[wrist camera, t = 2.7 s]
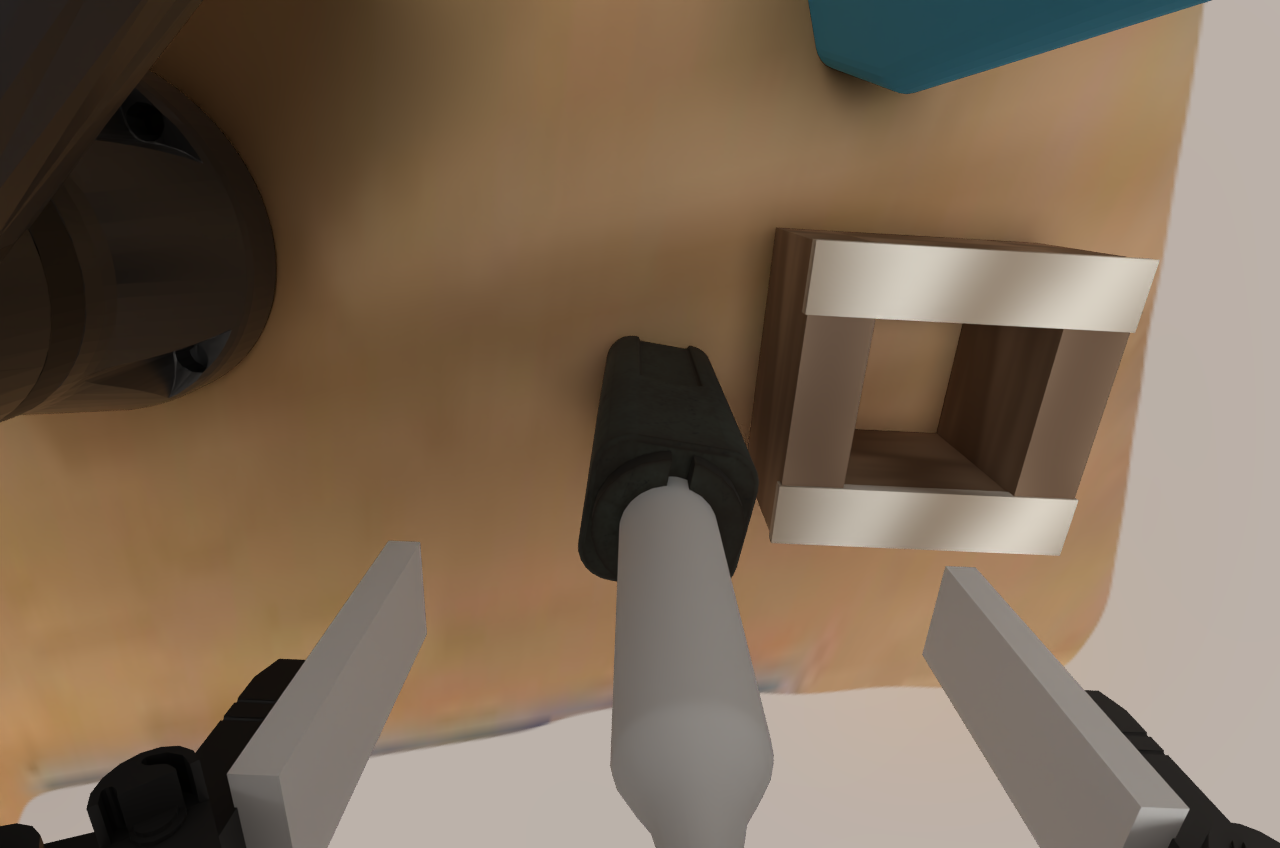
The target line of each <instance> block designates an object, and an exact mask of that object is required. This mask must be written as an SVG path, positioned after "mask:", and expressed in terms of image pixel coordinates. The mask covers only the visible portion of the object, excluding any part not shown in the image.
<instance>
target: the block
mask: <svg viewBox="0 0 1280 848" xmlns="http://www.w3.org/2000/svg"><path fill="white" fill-rule="evenodd" d="M1208 1H1211V0H808V2H809V8H810V14H811V20H812V26H813V32H814V38H815V44H816V49H817V53H818V55H819V57H820V59H821V61H822V62H823V63H825V64H826V65H827V66H829V67H831V68H833V69H836V70H839V71H841V72H844V73H847V74H849V75H852V76H855V77H857V78H860V79H863V80H866V81H868V82H871V83H874V84H876V85H879V86H882V87H884V88H887V89H890V90H892V91H895V92H898V93H903V94H910V93H915V92H918V91H922V90H925V89H928V88H931V87H935V86H938V85H941V84H944V83H947V82H951V81H954V80H957V79H960V78H964V77H967V76H970V75H973V74H976V73H980V72H983V71H986V70H989V69H993V68H996V67H999V66H1002V65H1006V64H1009V63H1012V62H1015V61H1018V60H1022V59H1025V58H1028V57H1031V56H1034V55H1038V54H1041V53H1044V52H1047V51H1050V50H1054V49H1057V48H1060V47H1063V46H1066V45H1070V44H1073V43H1076V42H1079V41H1083V40H1086V39H1089V38H1092V37H1095V36H1099V35H1102V34H1105V33H1108V32H1111V31H1115V30H1118V29H1121V28H1124V27H1127V26H1131V25H1134V24H1137V23H1140V22H1144V21H1147V20H1150V19H1153V18H1156V17H1160V16H1163V15H1166V14H1169V13H1172V12H1176V11H1179V10H1182V9H1185V8H1188V7H1192V6H1195V5H1198V4H1201V3H1205V2H1208Z"/></svg>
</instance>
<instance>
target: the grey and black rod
mask: <svg viewBox="0 0 1280 848" xmlns="http://www.w3.org/2000/svg"><path fill="white" fill-rule="evenodd" d="M758 486H759V479H758V473H757V470H756V468H755V466H754V463H753V461H752V459H751V456H750V454H749V452H748V449H747V447H746V445H745V442H744V440H743V438H742V435H741V433H740V431H739V428H738V426H737V424H736V421H735V419H734V417H733V414H732V412H731V410H730V407H729V405H728V403H727V400H726V398H725V396H724V393H723V391H722V389H721V386H720V384H719V382H718V379H717V377H716V375H715V372H714V370H713V368H712V365H711V363H710V361H709V359H708V357H707V355H706V354H705V353H704V352H703V351H701V350H700V349H698V348H696V347H692V346H689V347H688V348H687V349H682V348H677V347H671V346H666V345H660V344H655V343H649V342H643V341H640V340H639V337H637V336H627V337H623V338H621V339H619V340H617V341H616V342H615V343H614V344H613V345H612V347H611V348H610V350H609V352H608V356H607V361H606V367H605V373H604V379H603V384H602V390H601V396H600V402H599V408H598V414H597V421H596V428H595V434H594V441H593V448H592V454H591V461H590V468H589V474H588V481H587V488H586V495H585V501H584V508H583V515H582V521H581V528H580V535H579V541H578V551H579V555H580V558H581V561H582V562H583V564H584V565H585V567H586V568H587V569H588V570H589V571H590V572H592V573H593V574H595V575H596V576H598V577H600V578H603V579H607V580H612V581H617V603H616V630H615V656H614V683H613V709H612V738H611V763H610V766H611V771H612V775H613V778H614V782H615V785H616V788H617V790H618V792H619V793H620V795H621V796H622V797H623V799H624V800H625V801H626V803H627V804H628V806H629V807H630V808H631V810H632V811H633V813H634V814H635V815H636V817H637V818H638V819H639V820H640V822H641V823H642V824H643V825H644V826H645V827H646V829H647V830H648V831H649V832H650V833H651V835H652V838H653V841H654V844H655V847H656V848H744V843H745V836H746V828H747V824H748V822H749V821H750V819H751V817H752V815H753V814H754V812H755V810H756V808H757V807H758V805H759V803H760V801H761V799H762V797H763V795H764V793H765V790H766V789H767V786H768V784H769V782H770V780H771V775H772V768H773V756H774V755H773V749H772V744H771V738H770V734H769V730H768V726H767V722H766V718H765V714H764V711H763V706H762V702H761V698H760V694H759V690H758V686H757V682H756V678H755V674H754V670H753V666H752V662H751V658H750V654H749V649H748V645H747V641H746V637H745V633H744V629H743V625H742V621H741V617H740V613H739V609H738V605H737V601H736V597H735V593H734V589H733V585H732V581H731V577H732V576H733V574H734V572H735V570H736V568H737V564H738V561H739V557H740V554H741V550H742V546H743V543H744V539H745V536H746V532H747V529H748V525H749V521H750V518H751V514H752V511H753V507H754V504H755V500H756V496H757V493H758Z"/></svg>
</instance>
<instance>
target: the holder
mask: <svg viewBox="0 0 1280 848" xmlns="http://www.w3.org/2000/svg"><path fill="white" fill-rule="evenodd" d="M1158 263H1159V260H1155V259H1149V258H1132V257H1124V256H1118V255H1111V254H1105V253H1098V252H1092V251H1085V250H1079V249H1072V248H1066V247H1059V246H1053V245H1046V244H1040V243H1028V242H1011V241H994V240H977V239H960V238H943V237H926V236H909V235H892V234H875V233H858V232H841V231H824V230H807V229H790V228H776V233H775V241H774V248H773V256H772V264H771V272H770V280H769V288H768V296H767V303H766V311H765V319H764V327H763V335H762V343H761V351H760V358H759V366H758V374H757V382H756V390H755V398H754V406H753V413H752V421H751V429H750V437H749V445H748V452H749V454H750V456H751V459H752V461H753V463H754V466H755V468H756V470H757V473H758V479H759V486H758V493H757V496H756V498H757V500H758V503H759V505H760V508H761V511H762V513H763V516H764V518H765V521H766V523H767V526H768V528H769V531H770V532H769V538H770V541H771V543H784V544H806V545H829V546H852V547H875V548H898V549H921V550H944V551H967V552H990V553H1013V554H1036V555H1058V556H1060V553H1061V550H1062V547H1063V544H1064V541H1065V539H1066V536H1067V533H1068V530H1069V527H1070V524H1071V521H1072V518H1073V515H1074V512H1075V509H1076V506H1077V503H1078V500H1077V499H1076V498H1075V496H1076V493H1077V490H1078V487H1079V484H1080V481H1081V478H1082V475H1083V472H1084V469H1085V466H1086V463H1087V460H1088V457H1089V454H1090V451H1091V448H1092V445H1093V442H1094V439H1095V436H1096V433H1097V430H1098V427H1099V424H1100V421H1101V418H1102V415H1103V412H1104V409H1105V406H1106V403H1107V400H1108V397H1109V394H1110V391H1111V388H1112V385H1113V382H1114V379H1115V376H1116V373H1117V370H1118V367H1119V364H1120V362H1121V359H1122V356H1123V353H1124V350H1125V347H1126V344H1127V341H1128V338H1129V335H1130V333H1135V331H1136V328H1137V325H1138V323H1139V320H1140V317H1141V314H1142V311H1143V308H1144V305H1145V302H1146V299H1147V296H1148V293H1149V290H1150V287H1151V284H1152V281H1153V278H1154V275H1155V272H1156V269H1157V266H1158ZM875 319H893V320H911V321H930V322H948V323H963V326H962V330H961V334H960V339H959V343H958V347H957V351H956V355H955V359H954V364H953V368H952V372H951V376H950V380H949V384H948V389H947V393H946V397H945V401H944V405H943V410H942V414H941V418H940V422H939V426H938V430H937V433H917V432H896V431H876V430H856V429H855V424H856V419H857V414H858V408H859V403H860V398H861V393H862V387H863V382H864V377H865V371H866V366H867V361H868V356H869V350H870V345H871V340H872V335H873V329H874V324H875Z"/></svg>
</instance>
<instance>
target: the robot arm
mask: <svg viewBox="0 0 1280 848" xmlns="http://www.w3.org/2000/svg"><path fill="white" fill-rule="evenodd" d="M202 1H203V0H0V422H2V421H5V420H8V419H10V418H13V417H15V416H18V415H32V414H54V413H75V412H97V411H118V410H132V409H139V408H145V407H149V406H154V405H158V404H162V403H165V402H168V401H171V400H174V399H176V398H179V397H181V396H184V395H186V394H188V393H190V392H192V391H194V390H196V389H198V388H200V387H203V386H205V385H207V384H209V383H211V382H213V381H215V380H216V379H218V378H220V377H221V376H223V375H224V374H226V373H227V372H229V371H230V370H231V369H233V368H234V367H235V366H236V365H237V364H238V363H239V362H240V361H241V360H242V359H243V358H244V357H245V356H246V355H247V354H248V352H249V351H250V350H251V348H252V347H253V346H254V344H255V343H256V341H257V339H258V338H259V336H260V334H261V332H262V330H263V328H264V326H265V324H266V321H267V319H268V316H269V313H270V309H271V306H272V301H273V297H274V290H275V280H276V258H275V248H274V241H273V236H272V231H271V227H270V223H269V219H268V216H267V213H266V209H265V206H264V204H263V201H262V199H261V196H260V194H259V191H258V189H257V187H256V185H255V183H254V181H253V179H252V177H251V175H250V173H249V171H248V169H247V168H246V166H245V164H244V163H243V161H242V159H241V158H240V156H239V155H238V153H237V152H236V150H235V149H234V147H233V146H232V145H231V143H230V142H229V140H228V139H227V138H226V137H225V135H224V134H223V133H222V132H221V131H220V129H219V128H218V127H217V126H216V125H215V124H214V123H213V121H212V120H211V119H210V118H209V117H208V116H207V115H206V114H205V113H204V112H203V111H202V110H201V109H200V108H199V107H198V106H197V105H196V104H195V103H193V102H192V101H191V100H190V99H189V98H188V97H186V96H185V95H184V94H183V93H182V92H180V91H179V90H178V89H176V88H175V87H174V86H172V85H171V84H170V83H168V82H167V81H165V80H164V79H162V78H161V77H159V76H158V75H156V74H154V73H153V72H151V71H149V69H150V68H151V66H152V65H153V64H154V62H155V61H156V60H157V59H158V57H159V56H160V55H161V53H162V52H163V51H164V50H165V48H166V47H167V46H168V44H169V43H170V42H171V41H172V39H173V38H174V37H175V35H176V34H177V33H178V32H179V30H180V29H181V28H182V27H183V25H184V24H185V23H186V21H187V20H188V19H189V18H190V16H191V15H192V14H193V12H194V11H195V10H196V9H197V7H198V6H199V5H200V3H201V2H202ZM426 635H427V629H426V615H425V602H424V588H423V574H422V561H421V547H420V542H408V541H388V542H387V544H386V545H385V547H384V548H383V550H382V551H381V553H380V554H379V555H378V557H377V558H376V560H375V561H374V563H373V564H372V565H371V567H370V568H369V570H368V571H367V573H366V574H365V576H364V577H363V578H362V580H361V581H360V583H359V584H358V586H357V587H356V589H355V590H354V591H353V593H352V594H351V596H350V597H349V599H348V600H347V601H346V603H345V604H344V606H343V607H342V609H341V610H340V612H339V613H338V614H337V616H336V617H335V619H334V620H333V622H332V623H331V625H330V626H329V627H328V629H327V630H326V632H325V633H324V635H323V636H322V637H321V639H320V640H319V642H318V643H317V645H316V646H315V648H314V649H313V650H312V652H311V653H310V655H309V656H308V658H307V659H306V660H295V659H278V660H277V661H275V662H274V663H273V664H271V665H270V666H269V667H267V668H266V669H265V670H263V671H262V672H260V673H259V674H258V675H256V676H255V677H254V678H253V679H252V681H251V682H250V683H249V684H248V686H247V687H246V688H245V690H244V691H243V692H242V694H241V695H240V696H239V697H238V701H237V703H234V704H233V705H232V706H231V708H230V709H229V710H228V712H227V713H226V714H225V715H224V719H223V721H220V722H219V723H218V724H217V726H216V727H215V728H214V730H213V731H212V732H211V733H210V735H209V736H208V737H207V739H206V740H205V741H204V743H203V744H202V745H201V746H200V748H199V749H198V750H197V752H196V753H195V752H194V751H193V750H190V749H187V748H184V747H181V746H169V747H159V748H156V749H153V750H149V751H146V752H143V753H140V754H138V755H136V756H134V757H132V758H130V759H129V760H127V761H125V762H123V763H121V764H119V765H118V766H117V767H116V768H114V769H113V770H112V771H111V772H109V773H108V774H107V775H106V776H104V777H103V778H102V779H101V781H100V782H99V783H98V785H97V786H96V787H95V788H94V790H93V791H92V792H91V794H90V797H89V801H88V805H87V811H88V814H89V817H90V820H91V823H92V826H93V829H94V832H93V833H88V834H84V835H80V836H76V837H72V838H67V839H63V840H59V841H55V842H50V843H46V844H43V841H42V838H41V836H40V834H39V833H38V832H37V831H36V830H35V829H34V828H33V826H28V825H22V824H17V823H16V824H10V825H5V826H0V848H327V847H328V845H329V843H330V841H331V839H332V837H333V834H334V832H335V830H336V828H337V826H338V824H339V821H340V819H341V817H342V815H343V813H344V811H345V808H346V806H347V804H348V802H349V800H350V798H351V796H352V793H353V791H354V789H355V787H356V785H357V783H358V781H359V778H360V776H361V774H362V772H363V770H364V768H365V766H366V763H367V761H368V759H369V757H370V755H371V753H372V751H373V748H374V746H375V744H376V742H377V740H378V738H379V736H380V733H381V731H382V729H383V727H384V725H385V723H386V721H387V718H388V716H389V714H390V712H391V710H392V708H393V706H394V703H395V701H396V699H397V697H398V695H399V693H400V690H401V688H402V686H403V684H404V682H405V680H406V678H407V675H408V673H409V671H410V669H411V667H412V665H413V663H414V660H415V658H416V656H417V654H418V652H419V650H420V648H421V645H422V643H423V641H424V639H425V637H426ZM922 655H923V657H924V658H925V660H926V662H927V663H928V665H929V667H930V668H931V670H932V671H933V673H934V675H935V676H936V678H937V680H938V681H939V683H940V685H941V686H942V688H943V690H944V691H945V693H946V694H947V696H948V698H949V699H950V701H951V702H952V704H953V706H954V708H955V709H956V711H957V712H958V714H959V716H960V717H961V719H962V721H963V722H964V724H965V725H966V727H967V729H968V731H969V732H970V734H971V735H972V737H973V739H974V740H975V742H976V744H977V745H978V747H979V749H980V750H981V752H982V753H983V755H984V757H985V758H986V760H987V762H988V763H989V765H990V767H991V768H992V770H993V771H994V773H995V775H996V776H997V778H998V780H999V781H1000V783H1001V784H1002V786H1003V788H1004V790H1005V791H1006V793H1007V794H1008V796H1009V798H1010V799H1011V801H1012V803H1013V804H1014V806H1015V808H1016V809H1017V811H1018V812H1019V814H1020V816H1021V817H1022V819H1023V821H1024V822H1025V824H1026V825H1027V827H1028V829H1029V831H1030V832H1031V834H1032V835H1033V837H1034V839H1035V840H1036V842H1037V844H1038V845H1039V847H1040V848H1280V843H1279V842H1277V841H1275V840H1274V839H1272V838H1270V837H1269V836H1267V835H1265V834H1263V833H1262V832H1260V831H1257V830H1255V829H1252V828H1249V827H1247V826H1244V825H1241V824H1236V823H1231V822H1230V821H1229V820H1228V819H1227V818H1226V817H1225V816H1224V815H1223V814H1222V813H1221V812H1220V810H1218V808H1217V807H1216V806H1215V805H1214V804H1213V803H1212V802H1211V801H1210V800H1209V799H1208V798H1207V797H1206V795H1205V794H1204V793H1203V792H1202V791H1201V790H1200V789H1199V788H1198V787H1197V786H1196V785H1195V784H1194V783H1193V782H1192V780H1191V779H1190V778H1189V777H1188V776H1187V775H1186V774H1185V773H1184V772H1183V771H1182V770H1181V769H1180V768H1179V766H1178V765H1177V764H1176V763H1175V762H1174V761H1173V760H1172V759H1171V758H1170V757H1169V756H1168V755H1165V754H1164V750H1163V749H1162V748H1161V747H1160V746H1159V745H1158V744H1157V743H1156V742H1155V741H1154V740H1153V739H1152V738H1151V737H1148V736H1147V732H1146V731H1145V730H1144V729H1143V728H1142V727H1141V726H1140V725H1139V724H1138V723H1137V721H1136V720H1135V719H1134V718H1133V717H1132V716H1131V715H1130V714H1129V713H1128V712H1127V711H1126V710H1125V709H1123V708H1122V707H1120V706H1119V705H1118V704H1116V703H1115V702H1114V701H1112V700H1111V699H1109V698H1108V697H1106V696H1105V695H1103V694H1102V693H1101V692H1099V691H1091V690H1090V691H1089V690H1084V689H1083V688H1082V687H1081V686H1080V685H1079V684H1078V682H1077V681H1076V680H1075V679H1074V678H1073V677H1072V676H1071V675H1070V673H1069V672H1068V671H1067V670H1066V669H1065V668H1064V667H1063V666H1062V664H1061V663H1060V662H1059V661H1058V660H1057V659H1056V658H1055V657H1054V655H1053V654H1052V653H1051V652H1050V651H1049V650H1048V649H1047V648H1046V646H1045V645H1044V644H1043V643H1042V642H1041V641H1040V640H1039V639H1038V637H1037V636H1036V635H1035V634H1034V633H1033V632H1032V631H1031V630H1030V628H1029V627H1028V626H1027V625H1026V624H1025V623H1024V622H1023V621H1022V619H1021V618H1020V617H1019V616H1018V615H1017V614H1016V613H1015V612H1014V610H1013V609H1012V608H1011V607H1010V606H1009V605H1008V604H1007V602H1006V601H1005V600H1004V599H1003V598H1002V597H1001V596H1000V595H999V593H998V592H997V591H996V590H995V589H994V588H993V587H992V586H991V584H990V583H989V582H988V581H987V580H986V579H985V578H984V577H983V575H982V574H981V573H980V572H979V571H978V570H977V569H976V568H975V567H953V566H945V570H944V574H943V578H942V581H941V585H940V589H939V593H938V597H937V601H936V604H935V608H934V612H933V616H932V620H931V623H930V627H929V631H928V635H927V639H926V643H925V646H924V650H923V654H922Z"/></svg>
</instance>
